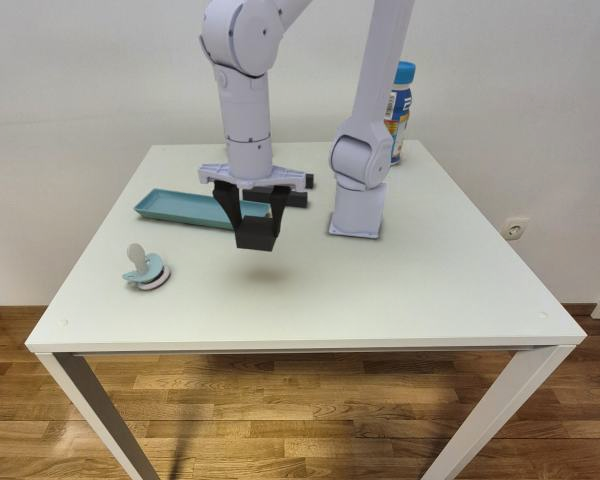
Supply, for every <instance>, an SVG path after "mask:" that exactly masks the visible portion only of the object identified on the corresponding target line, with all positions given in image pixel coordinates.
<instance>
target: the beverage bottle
mask: <svg viewBox="0 0 600 480" xmlns="http://www.w3.org/2000/svg"><path fill="white" fill-rule="evenodd" d="M416 67H417V66H416V64H415V63H414V62H410V61H405V60H399V64H398V68H397V72H396V76H395V79H394V83H393V87H392V91H391V95H390V99H389V102H388V106H387V110H386V114H385V118H384V124H385V126H386V127H387V129H388V131H389V133H390V134H391V136H392V138H393V140H394V142H393V145H392V150H391V164H390V166H394V165H396V164H398V163H399V161H400V159H401V153H402V148H403V144H404V140H405V136H406V130H407V127H408V121H409V120H410V114H411V111H410V107H411V105H412V103H413V94H412V90H411V88H410V86H411V85H412V84H413V81H414V79H415V74H416V69H417V68H416Z"/></svg>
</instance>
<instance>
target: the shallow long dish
mask: <svg viewBox="0 0 600 480" xmlns="http://www.w3.org/2000/svg"><path fill="white" fill-rule="evenodd" d="M240 208H241V214H242V219H243V217H244V215H249V216H259V217H267V214H268V213H269V210H270V209H271V206H270V204H266V203H258V202H251V201H244V200H243V199H240ZM132 209H133V210H134V211H135V212H136V213H138V215H140V216H141V217H144V218H150V219H155V220H162V221H168V222H176V223H183V224H190V225H198V226H203V227H213V228H218V229H225V230H226V229H227V230H233V231H234V229H233V227H232V224H231V222H230V220H229V218H228V216H227V215H226V213H225V211H224V210H223V208H222V207H221V206H220V204H219V203H218V202H217V201H216V200H215V199H214V197H213V195H205V194H198V193H193V192H184V191H177V190H170V189H164V188H163V189H162V188H155V187H154V188H152V190H150V191H149V192H148V193H147V194H146V195H145V196H144V197H143V198H142V199H141V200H140V201H139V202H138V203H137V204H136V205H134V206H133V208H132Z"/></svg>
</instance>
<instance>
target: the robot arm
mask: <svg viewBox="0 0 600 480" xmlns="http://www.w3.org/2000/svg"><path fill="white" fill-rule="evenodd" d="M313 1H314V0H212V1H210V2H209V4H208V5H207V6H206V8H205V11H204V14H203V19H202V25H201V30H202V31H201V33H200V34H199V35H198V42H199V44H200V48H201V50H202V52H203V54H204V56H205V58H206V59H207V60H208V61H209V63H210V64H211V66H212V69H213V75H214V80H215V81H216V85H217V91H218V98H219V105H220V113H221V120H222V126H223V134H224V140H225V147H226V153H227V160H228V161H227V162H221V163H202V164H201V165H200V166H199V167H198V168H197V173H198V178H199V179H198V180H199V183H200V184H201V185H202V184H203V185H208V184H209V183H213V189H212V191H211V193H212V196H213V197H214V199H215V200H216V201H217V202H218V203H219V204H220V206H221V207H222V208H223V210H224V211H225V213H226V215H227V216H228V218H229V220H230V222H231V224H232V227H233V229H234V230H233V231H234V233H235V232H236V230H237V229H238V227H239V225H240V223H241V221H242V214H241V208H240V200H241V199H240V190H243V189H252V188H253V187H255V186H261V187H273V188H274V189H273V191H272V192H271V194H270V196H269V202H270V211H271V218H272V221H273V236H274V237H275V238H277V239H278V238H279V236H280V233H281V228H282V227H281V226H282V220H283V215H284V212H285V208H286V207H287V206H286V203H287V201H288V199H289V196H290V194H291V191H293V190H295V191H296V192H305V189H306V188H305V186H306V173H307V172H306V171H300V170H295V169H291V168H286V167H283V166H279V165H275V164H273V148H272V133H271V132H272V131H271V114H270V113H271V112H270V94H269V76H268V75H269V73H268V71H269V70H270V69H272V68H273V66H274V64H275V62H276V60H277V56H278V52H279V46H280V43H281V41H282V39H283V38H284V35H285V33H286V32H287V31H288V30H289V28H290V27H291V26H292V25H293V24H294V23H295V22H296V20H297V19H298V18H299V17H300V16H301V15H302V14H303V13H304V11H305V10H306V9H307V8H308V6H309V5H310V4H311V3H312V2H313ZM415 3H416V0H374V3H373V9H372V13H371V14H372V15H371V19H370V24H369V28H368V34H367V39H366V43H365V48H364V53H363V57H362V61H361V67H360V72H359V77H358V82H357V87H356V92H355V96H354V101H353V106H352V112H351V116H349V118H348V119H346V120H344V121H343V122H342V123H340V124H339V125H338V126H337V129H336V134H335V138H334V140H333V142H332V144H331V146H330V149H329V153H328V166H329V168H330V170H331V171H332V172H333V179H335V180H336V183H335V193H334V194H335V195H334V204H333V205H334V206H333V212H332V215H331V219H330V220H331V221H330V225H329V228H328V233H329V234H330V235H338V236H339V235H340V236H348V237H356V238H357V237H358V238H367V239H377V238H378V237H379V231H380V226H381V224H382V222H383V211H384V206H385V200H386V194H387V187H388V186H387V183H385V182H384V180H385V179H386V178H387V176H388V174H389V171H390V168H391V165H390V164H391V150H392V145H393V142H394V140H393V138H392V136H391V134H390V133H389V131H388V129H387V127H386V126H385V124H384V118H385V114H386V110H387V106H388V102H389V99H390V95H391V91H392V87H393V83H394V79H395V76H396V72H397V68H398V64H399V61H401V60H400V59H401V56H402V53H403V49H404V44H405V40H406V37H407V33H408V30H409V25H410V22H411V18H412V13H413V10H414V6H415Z"/></svg>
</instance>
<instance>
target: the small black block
mask: <svg viewBox="0 0 600 480" xmlns="http://www.w3.org/2000/svg"><path fill="white" fill-rule="evenodd" d="M277 239H278V238H275V237H274V236H273V221H272V217H268V216H265V217H259V216H249V215H244V217H243V219H242V221H241V223H240V225H239V227H238V229H237V230H236V232H234V240H235V246H236V249H241V250H250V251H260V252H268V253H269V252H270V253H272V252H273V250H274V247H275V244H276V241H277Z"/></svg>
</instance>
